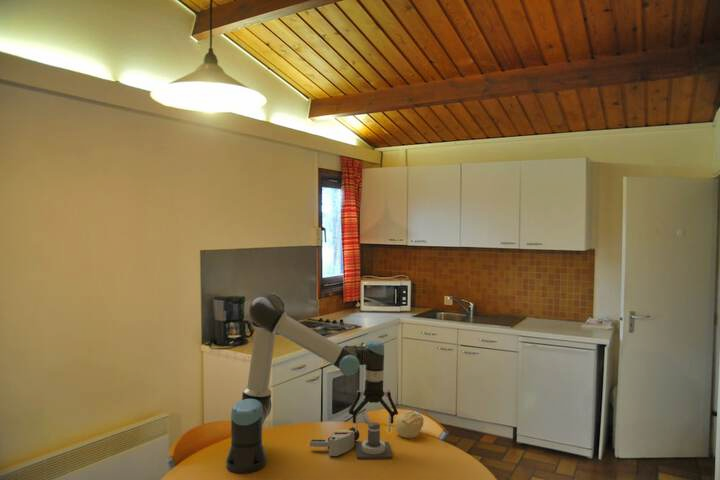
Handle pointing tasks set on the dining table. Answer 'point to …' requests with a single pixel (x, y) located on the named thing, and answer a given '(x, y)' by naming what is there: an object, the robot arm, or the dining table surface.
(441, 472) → the dining table surface
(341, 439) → the film camera
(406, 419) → the cream crumpled ball
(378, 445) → the lens
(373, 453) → the mount
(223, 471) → the dining table surface
